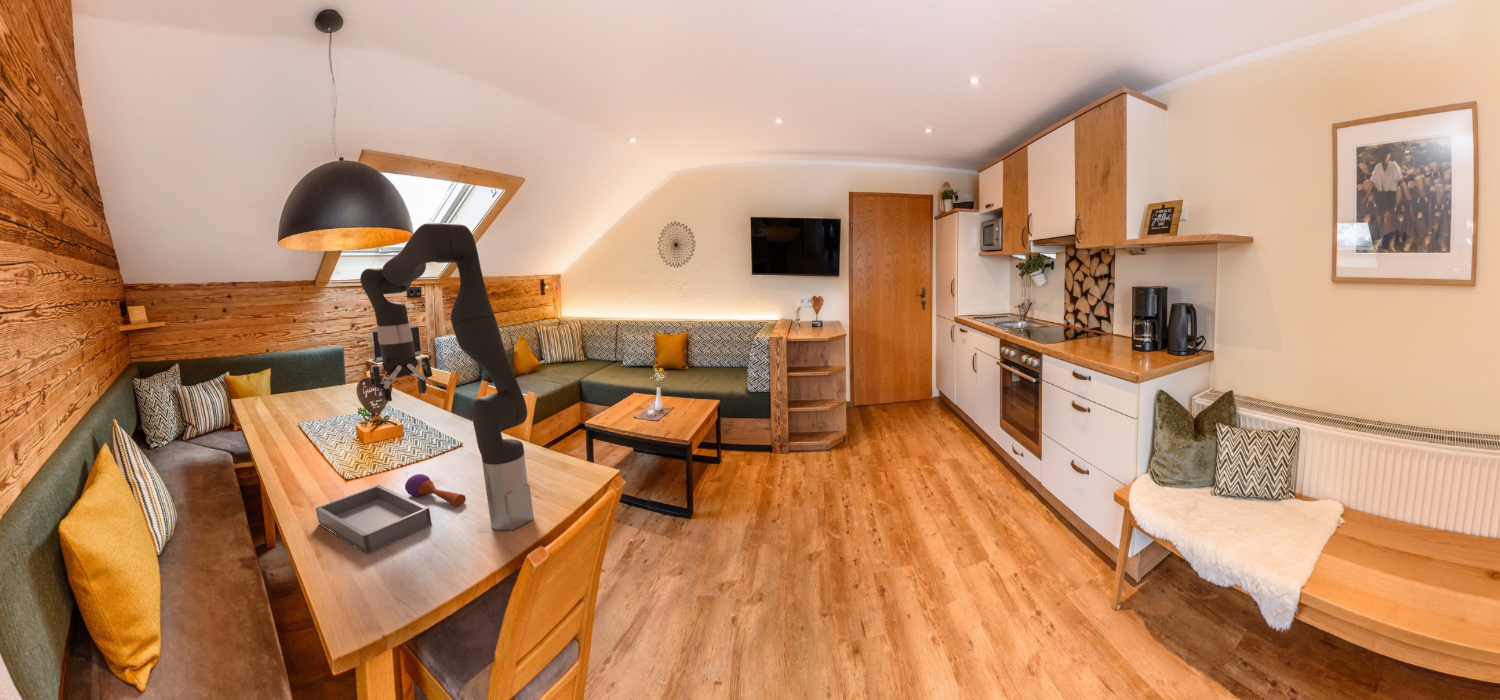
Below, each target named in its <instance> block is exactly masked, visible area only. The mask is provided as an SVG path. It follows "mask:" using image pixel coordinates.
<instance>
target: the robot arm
mask: <svg viewBox="0 0 1500 700" xmlns="http://www.w3.org/2000/svg"><path fill="white" fill-rule="evenodd" d="M428 263H436V264H437V263H438V264H442V263H443V264H447V263H453V264H454V263H455V264H456V266H457V267H456V268H457V269H458V270H457V271H458V274H459V288H458V292H457V295H456V297H455V300H454V302H453V305H452V308H451V312H450V313H451V314H450V322H451V326H452V329H453V332H454V335H455V338H456V341H457V344H458V347H460V349H461V350H462V351H463V353H464V354H466V355H467V356H468V357H470V359H472V360H473V361H474V362H475V363H476V364H478V365H479V366H480V367H481V368H482V369H483V370H484V371H485V372H486V373H487V374H488V375H489V377H490V379H491V381H492V382H493V385H494V387H495V389H496V390H495V391H496V392H494V393H491V394H488V395H484V396H481V397H479V398H476V399H475V400H474V401H473V402H472V406H471V417H472V418H471V419H472V423H473V428H474V429H473V430H474V433H475V438H476V443H477V447H478V450H479V453H480V455H481V462H482V469H483V476H484V478H483V479H484V484H485V491H486V492H485V493H486V497H487V498H486V499H487V500H486V501H487V507H488V511H489V513H488V514H489V521H490V527H491V528H493V529H494V530H497V531H506V530H507V531H508V530H509V531H514V530H516V529H518V528H520V527H521V526H524V525H525V524H527V523H528V522H530V521H533V520H534V519H535V518H534V516H535V515H534V510H533V501H532V493H531V491H532V490H531V485H530V484H529V482H528V474H527V465H526V458H525V447H524V444H523V442H522V441H520V440H518V439H515V438H514V439H513V438H503V435H502V432H504V431H506V430H509V429H512V428H515V427H518V426H520V425H522V424H524V423H525V422H526V420H527V417H528V408H527V404H526V400H525V397H524V394H523V392H522V390H521V388H520V385H519V383H518V380H517V378H516V376H515V373H514V370H513V368H512V366H511V363H510V361H509V358H508V354H507V352H506V349H505V346H504V342H503V339H502V335H501V333H500V332H501V331H500V329H499V325H498V322H497V319H496V316H495V312H494V310H493V307H492V304H491V302H490V298H489V294H488V291H487V289H486V285H485V280H484V277H483V276H484V275H483V272H482V268H481V263H480V258H479V253H478V248H477V244H476V240H475V238H474V235H473V233H472V232H471V230H470V229H469V227H467V226H466V225H465V224H461V223H454V222H453V223H452V222H451V223H449V222H448V223H447V222H425V223H423V224H422V225H420V226H419V227H418V228H417V229H416V230H415V231H414V232H413V234H412V235H411V237H409V239H408V240H407V242H406V243H405V245H404V246H403V248H402V250H401V251H400V252H398V253H397V254H396V255H394V256H393V257H392V258H391V259H389V260H388V261H386V262H385V263H384V264H383V265H382V266H383V267H371V268H366V269H363V271H362V272H361V274H360V277H359V278H360V279H359V280H360V284H361V287H362V289H363V290H364V293H365V294H366V296H367V298H368V300H369V303H370V304H371V306H372V308H373V312H374V315H375V321H376V326H377V327H376V328H377V337H378V338H377V341H378V343H379V348H380V356H381V359H382V364H380V365H370V366H369V376H370V378H369V379H370V384H371V387H372V388H376V389H380V392H381V395H382V396H381V397H382V399H383V400H385V402H389V403H390V402H392V401H393V398H392V394H391V393H392V392H391V388H390V386H391V384H392V382H394V381H395V379H396V378H399V379H400V378H402V377H407V376H408V377H409V376H411V375H412V376H413V377H415V378H416V379H417V380H416V381H417V389H418V393H419V394H421V395H423V394H425V393H426V391H427V390H428V388H427V382H426V380H427V379H429V378H431V377H433V371H432V368H431V363H430V358H429V357H428V356H421V357H419V358H417V357H416V351H415V343H414V340H413V339H414V337H413V333H412V330H411V326H410V323H409V322H410V321H409V314H408V311H407V309H408V308H407V306H406V305H405V303H403V302H397V301H395V302H394V301H389V300H388V299H387V298H386V296H385V295H391V294H401V293H405V292H407V291H409V290H410V287H411V285H412V283H413V282H414V281H416V280H417V279H419V278H420V277H422V276H423V275H424V273H425V271H426V269H427V264H428ZM418 364H419V365H420V366H421V371H422V372H421V371H420V370H418V369H417V368H416V367H417V365H418ZM383 370H384V371H385V374H384V375H383V377H382V381H381V376H380V375H381V373H382V371H383Z"/></svg>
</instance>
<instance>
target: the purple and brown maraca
mask: <svg viewBox="0 0 1500 700" xmlns="http://www.w3.org/2000/svg"><path fill="white" fill-rule="evenodd" d="M404 487H405V488H404V489H405V491H406V493H407V494H408V495H410V496H414V497H419V496H423V497H424V496H429V495H432V494H433V495H436V496H437V497H439V498H440V499H442V500H444V501H446V502H447V503H449V504H450V505H452V506H453V507H456V508H458V507H461V506H462V505H464V504H465V502H466V500H467V499H466V496H465V495H464V494H462V493H456V492H452V491H445V490H441V489H436V486H435V485H434V482H433V481H432V480H431V478H430V477H429V475H426V474H423V473H417V474H413V475H412V476H410V477H409V478H408V479H407V481H406V482H405V485H404Z"/></svg>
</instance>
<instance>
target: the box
mask: <svg viewBox="0 0 1500 700" xmlns="http://www.w3.org/2000/svg"><path fill="white" fill-rule="evenodd" d="M315 511H316V516H317V517H316V518H317V521H318V524H319V523H320V524H321V525H323V526H325V527H326V528H328V529H330V530H331V531H333V532H334V533H336V534H337V535H339V536H340V537H342V538H343V539H342V538H341V539H342V540H344V539H345V540H347V541H348V542H350V543H351V544H350V543H349V544H350V545H352V544H353V545H355V546H356V547H357V548H356V547H355V546H354V547H355V548H356V549H358V548H359V549H358V550H360V551H361V550H362V551H361V552H363V553H365V554H366V555H369V554H372V553H374V552H376V551H378V550H380V549H382V548H385V547H386V546H389V545H391V544H393V543H395V542H397V541H399V540H401V539H404V538H405V537H407V536H409V535H413V534H414V533H416V532H419V531H420V530H421V531H422V530H423V529H424V528H425V529H426V528H427V527H430V526H431V525H432V517H431V511H430V507H427V506H426V505H424V504H421V503H419V502H417V501H415V500H413V499H410V498H408V497H406V496H404V495H402V494H399V493H397V492H395V491H393V490H391V489H389V488H387V487H385V486H382V485H380V484H377V485H374V486H372V487H369V488H367V489H364V490H361V491H359V492H356V493H353V494H350V495H347V496H344V497H342V498H339V499H336V500H333V501H331V502H328V503H325V504H322V505H320V506H317V507H315ZM321 525H320V526H321ZM323 526H322V527H323ZM326 528H325V529H326ZM331 531H330V532H331ZM334 533H333V534H334ZM337 535H336V536H337ZM339 536H338V537H339ZM340 537H339V538H340ZM345 540H344V541H345ZM347 541H346V542H347ZM348 542H347V543H348ZM353 545H352V546H353ZM375 550H376V551H375ZM373 551H374V552H373Z"/></svg>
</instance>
